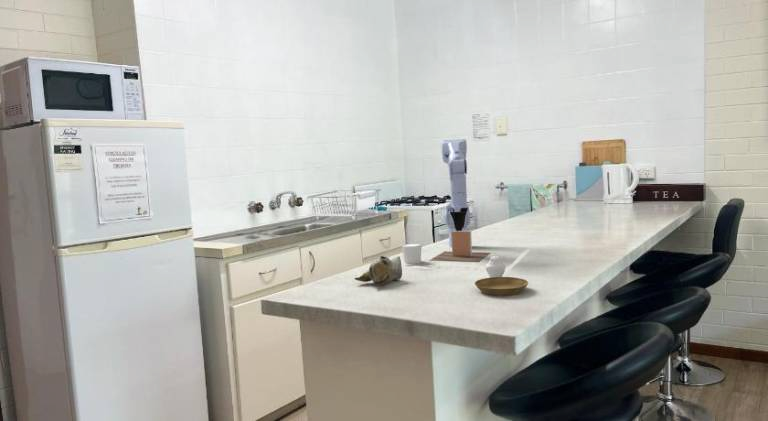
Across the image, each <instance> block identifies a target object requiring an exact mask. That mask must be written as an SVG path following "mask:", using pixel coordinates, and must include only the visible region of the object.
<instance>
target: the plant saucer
mask: <svg viewBox="0 0 768 421" xmlns="http://www.w3.org/2000/svg"><path fill="white" fill-rule="evenodd" d="M528 284H529V281H528V280H526V279H523V278H519V277H515V276H514V277H513V276H512V277H511V276H502V277H491V278H490V277H483V278H480V279H477V280H476V281H475V282H474V285H475V286H476V287H477V289H478V290H480V292H482V293H484V294H486V295H489V296H490V295H491V296H500V297H501V296H502V297H503V296H512V295H513V294H514V295H518V294H521V292H523V291H524V290H525V288H527V286H528Z"/></svg>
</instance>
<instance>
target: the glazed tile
mask: <svg viewBox="0 0 768 421" xmlns="http://www.w3.org/2000/svg"><path fill="white" fill-rule="evenodd" d="M472 244H473V243H472V230H469V231H452V247H451V250H452V251H451V252H452V256H472V252H473V246H472Z"/></svg>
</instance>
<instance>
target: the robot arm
mask: <svg viewBox="0 0 768 421" xmlns="http://www.w3.org/2000/svg"><path fill="white" fill-rule="evenodd" d="M467 149H468V147H467V140H466V138H461V139H459V138H458V139H442V141H441V155H442V160H443V161H442V162H444V163H445V164H447V166H448V167H447V168H448V174H449V186H450V202H449V203H448V204H445V207H444V224H445V226H446V227H448V244H449V245H448V246H449V248H452V231H470V230H469V228H468V226H469V225H470V224H471V211H470V206H469V205H468V203H467V202H468V199H467V198H468V197H467V174H468V162H467V153H468V152H467V151H468V150H467Z"/></svg>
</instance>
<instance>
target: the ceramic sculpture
mask: <svg viewBox="0 0 768 421" xmlns="http://www.w3.org/2000/svg"><path fill="white" fill-rule="evenodd" d="M402 276H403V267H402V260H401V257H400V256H396V257H394V258H392V259H390V258H389V257H387V256H380V257H379V260H376V261H373V262H371V264H370V265H369V267H368V270H367V271H366V272H363V273H362V274H361V275H360V276H359V277H355V278H354V280H355V281H359V282H363V283H367V282H371V281H372V282H373V284H374V285H377V286H383V285H384V284H386V283H388V282H390V281H400V280H401V279H402Z"/></svg>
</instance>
